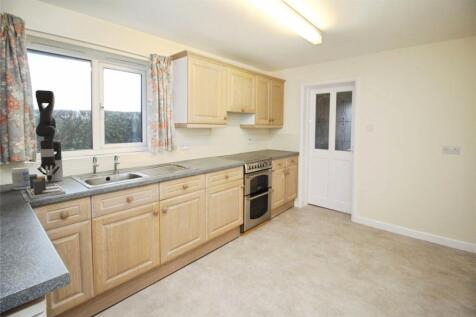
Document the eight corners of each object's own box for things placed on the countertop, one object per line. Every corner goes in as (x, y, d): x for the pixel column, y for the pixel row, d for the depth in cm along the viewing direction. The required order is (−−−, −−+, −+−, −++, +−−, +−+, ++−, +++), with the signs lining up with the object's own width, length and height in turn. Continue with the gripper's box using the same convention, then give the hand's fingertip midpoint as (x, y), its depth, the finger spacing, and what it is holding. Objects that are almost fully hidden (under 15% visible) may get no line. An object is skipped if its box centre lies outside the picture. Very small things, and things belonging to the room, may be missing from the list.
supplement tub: (28, 189, 181) (26, 168, 179) (10, 190, 177) (9, 169, 175) (32, 186, 190) (30, 166, 188) (15, 187, 185) (13, 167, 184)
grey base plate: (26, 189, 179) (25, 174, 178) (57, 186, 191) (56, 171, 190) (31, 198, 159) (29, 181, 158) (65, 193, 171) (64, 177, 170)
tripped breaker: (37, 189, 174) (36, 176, 172) (45, 188, 176) (44, 175, 175) (38, 190, 171) (37, 177, 170) (46, 189, 174) (45, 176, 173)
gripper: (58, 154, 181) (59, 178, 183) (34, 155, 172) (36, 180, 174) (60, 155, 176) (62, 180, 178) (36, 156, 167) (38, 182, 169)
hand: (49, 180), depth 176 cm, fingers closed
